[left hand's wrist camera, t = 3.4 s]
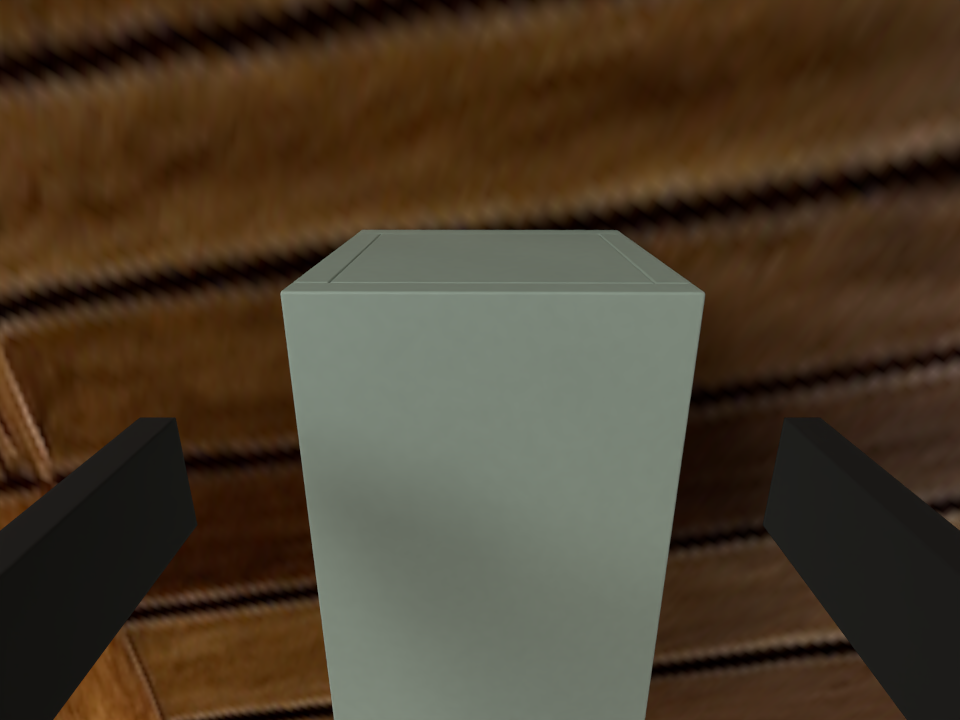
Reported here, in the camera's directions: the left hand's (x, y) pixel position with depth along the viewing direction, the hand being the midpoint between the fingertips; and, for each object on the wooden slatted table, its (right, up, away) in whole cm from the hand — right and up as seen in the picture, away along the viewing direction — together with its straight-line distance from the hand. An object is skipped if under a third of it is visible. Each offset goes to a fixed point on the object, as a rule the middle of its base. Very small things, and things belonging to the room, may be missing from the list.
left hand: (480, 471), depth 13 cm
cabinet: (0, 0, +14) cm, 14 cm away
